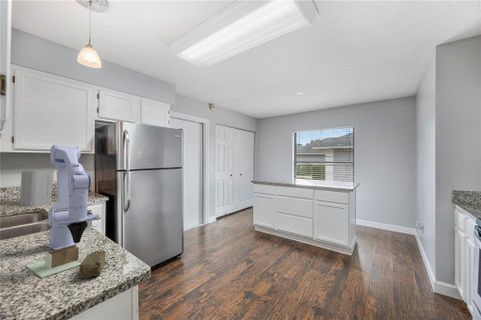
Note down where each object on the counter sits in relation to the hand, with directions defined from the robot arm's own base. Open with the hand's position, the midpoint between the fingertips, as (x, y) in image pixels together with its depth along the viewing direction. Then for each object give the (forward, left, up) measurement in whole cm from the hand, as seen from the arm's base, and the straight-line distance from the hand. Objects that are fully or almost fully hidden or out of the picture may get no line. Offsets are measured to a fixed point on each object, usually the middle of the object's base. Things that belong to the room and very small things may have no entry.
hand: (76, 242), depth 82 cm
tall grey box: (-143, +28, -7) cm, 146 cm away
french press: (-40, +19, -7) cm, 45 cm away
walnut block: (0, 0, -4) cm, 4 cm away
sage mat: (0, -6, -6) cm, 9 cm away
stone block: (+14, -1, -7) cm, 16 cm away
